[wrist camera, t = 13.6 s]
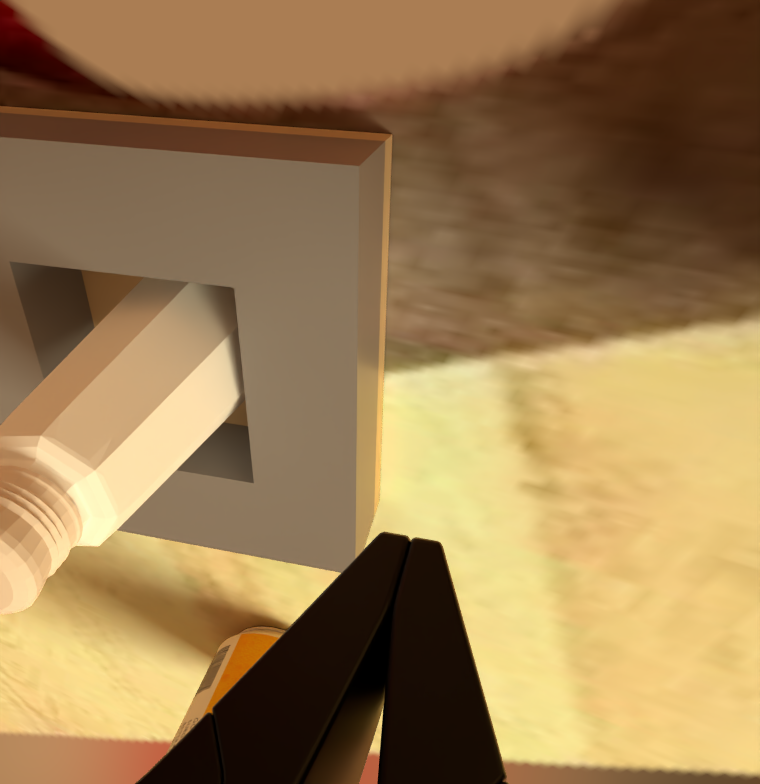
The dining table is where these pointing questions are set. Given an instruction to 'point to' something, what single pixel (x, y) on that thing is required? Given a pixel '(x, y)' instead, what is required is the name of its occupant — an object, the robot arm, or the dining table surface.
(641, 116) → the dining table surface
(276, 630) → the beer can
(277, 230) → the socket block
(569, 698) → the dining table surface
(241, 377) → the pepper shaker
